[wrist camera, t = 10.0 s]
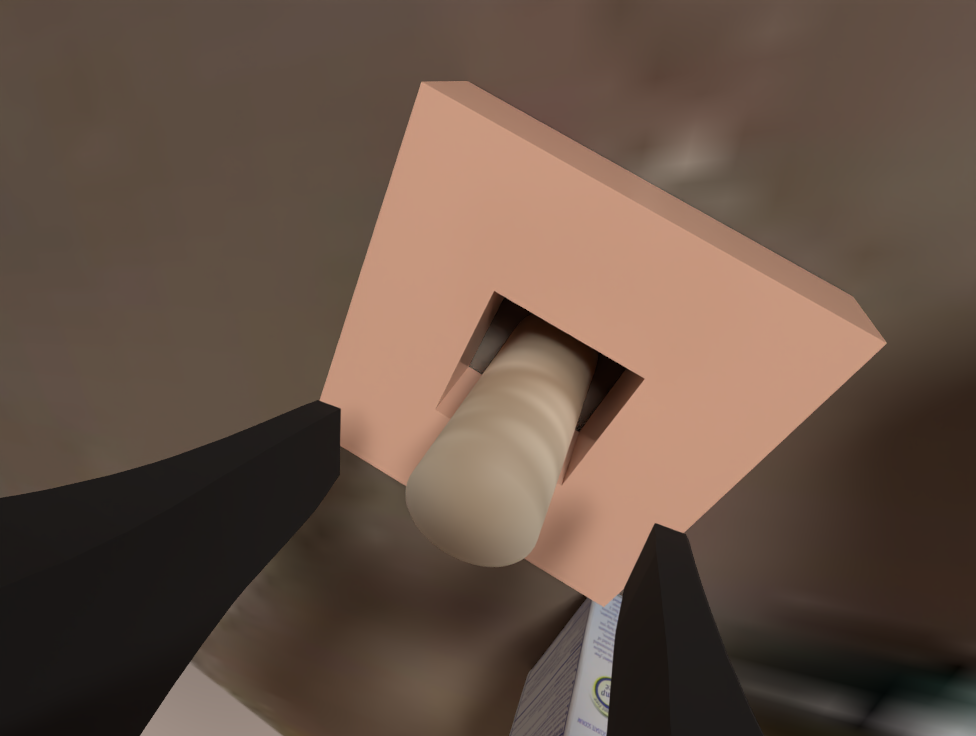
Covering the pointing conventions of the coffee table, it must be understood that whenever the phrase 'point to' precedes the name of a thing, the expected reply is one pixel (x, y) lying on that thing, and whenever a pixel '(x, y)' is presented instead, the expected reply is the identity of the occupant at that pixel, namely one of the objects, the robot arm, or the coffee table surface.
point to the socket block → (582, 325)
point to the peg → (504, 449)
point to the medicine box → (572, 678)
